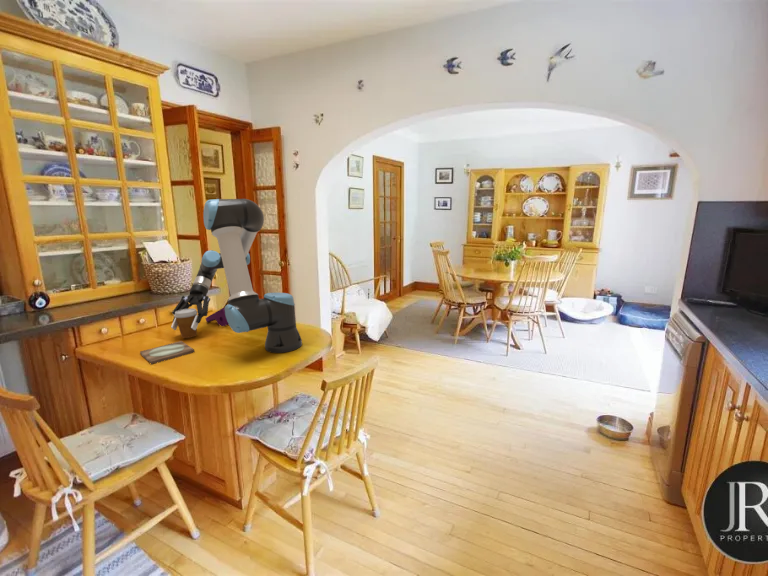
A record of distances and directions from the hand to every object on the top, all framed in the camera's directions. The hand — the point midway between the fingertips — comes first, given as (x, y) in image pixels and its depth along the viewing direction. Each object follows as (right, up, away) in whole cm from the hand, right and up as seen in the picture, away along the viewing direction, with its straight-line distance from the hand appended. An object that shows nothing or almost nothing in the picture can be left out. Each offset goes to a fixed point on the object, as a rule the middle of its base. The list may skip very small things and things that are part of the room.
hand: (183, 328), depth 168 cm
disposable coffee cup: (+1, -4, +4) cm, 6 cm away
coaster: (+1, -9, -14) cm, 16 cm away
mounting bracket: (+6, 0, +28) cm, 28 cm away
